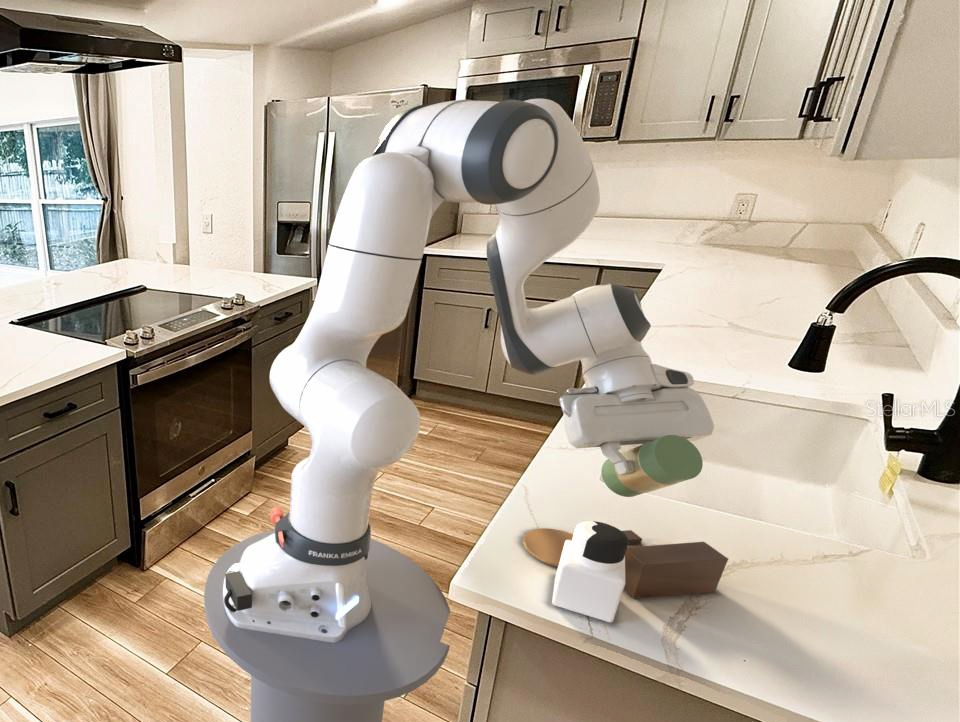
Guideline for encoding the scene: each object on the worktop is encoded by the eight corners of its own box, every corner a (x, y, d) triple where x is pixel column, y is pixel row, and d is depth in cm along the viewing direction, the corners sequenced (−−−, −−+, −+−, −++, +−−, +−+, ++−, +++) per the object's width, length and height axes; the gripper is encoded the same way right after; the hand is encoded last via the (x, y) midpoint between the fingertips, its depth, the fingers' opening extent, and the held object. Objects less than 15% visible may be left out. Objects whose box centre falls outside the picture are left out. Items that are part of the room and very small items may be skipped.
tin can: (588, 483, 98) (607, 413, 93) (628, 480, 98) (649, 411, 93) (648, 527, 87) (673, 451, 82) (692, 524, 87) (721, 448, 82)
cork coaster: (541, 569, 94) (542, 566, 93) (512, 531, 103) (512, 528, 102) (610, 570, 93) (611, 567, 92) (574, 531, 102) (575, 528, 102)
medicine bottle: (612, 593, 88) (634, 524, 83) (612, 624, 83) (636, 552, 78) (555, 576, 92) (573, 510, 87) (551, 605, 87) (570, 536, 82)
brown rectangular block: (569, 540, 100) (577, 509, 97) (641, 535, 100) (651, 504, 98) (633, 598, 87) (644, 565, 85) (715, 592, 87) (728, 558, 85)
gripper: (569, 381, 91) (599, 470, 86) (702, 373, 92) (739, 461, 87) (544, 397, 97) (571, 481, 92) (669, 389, 98) (702, 473, 93)
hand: (654, 471), depth 89 cm, fingers closed on tin can, 6 cm apart
